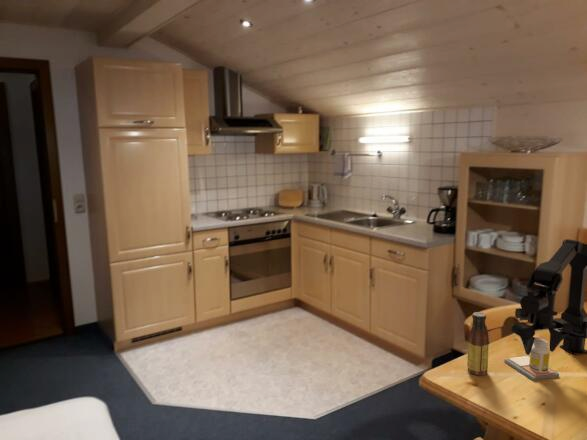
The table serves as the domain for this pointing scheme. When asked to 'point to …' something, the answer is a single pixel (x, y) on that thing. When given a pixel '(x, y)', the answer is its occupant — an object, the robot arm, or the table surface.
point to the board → (523, 367)
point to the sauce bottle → (478, 346)
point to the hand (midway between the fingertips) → (539, 352)
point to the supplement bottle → (539, 356)
